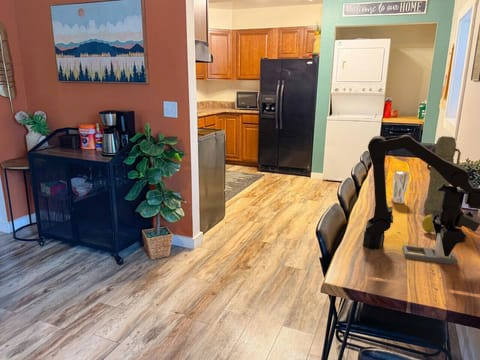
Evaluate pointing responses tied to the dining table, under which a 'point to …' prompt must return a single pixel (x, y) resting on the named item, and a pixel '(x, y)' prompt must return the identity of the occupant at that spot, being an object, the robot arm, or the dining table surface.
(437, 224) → the robot arm
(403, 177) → the grey marbled block
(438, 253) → the plug
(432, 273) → the dining table surface
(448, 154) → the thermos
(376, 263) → the dining table surface
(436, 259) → the socket panel
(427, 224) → the lemon
